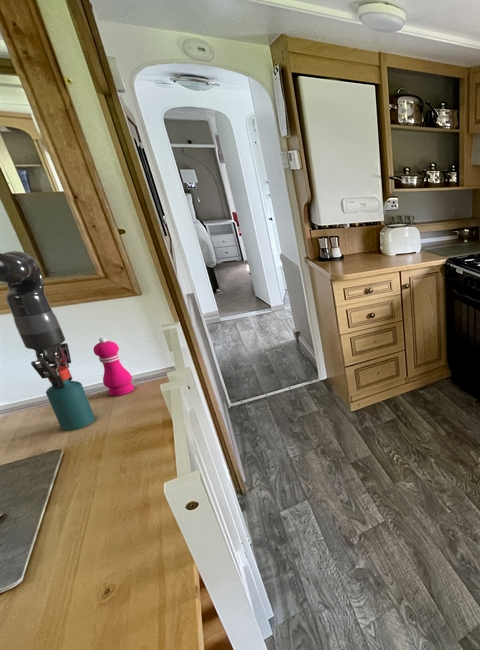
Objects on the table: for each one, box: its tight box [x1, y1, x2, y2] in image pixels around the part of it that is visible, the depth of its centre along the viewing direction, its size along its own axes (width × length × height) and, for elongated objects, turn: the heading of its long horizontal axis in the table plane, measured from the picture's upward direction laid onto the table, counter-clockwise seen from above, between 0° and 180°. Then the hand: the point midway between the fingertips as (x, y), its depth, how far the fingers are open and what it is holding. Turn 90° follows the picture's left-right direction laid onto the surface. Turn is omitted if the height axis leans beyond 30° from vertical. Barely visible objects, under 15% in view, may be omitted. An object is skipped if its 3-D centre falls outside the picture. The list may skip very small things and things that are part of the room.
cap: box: [47, 366, 72, 383], centre depth 105 cm, size 4×4×3 cm
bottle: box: [45, 379, 96, 431], centre depth 108 cm, size 7×7×17 cm
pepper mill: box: [93, 337, 135, 397], centre depth 125 cm, size 7×7×20 cm
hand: (63, 384), depth 107 cm, fingers closed on cap, 4 cm apart
